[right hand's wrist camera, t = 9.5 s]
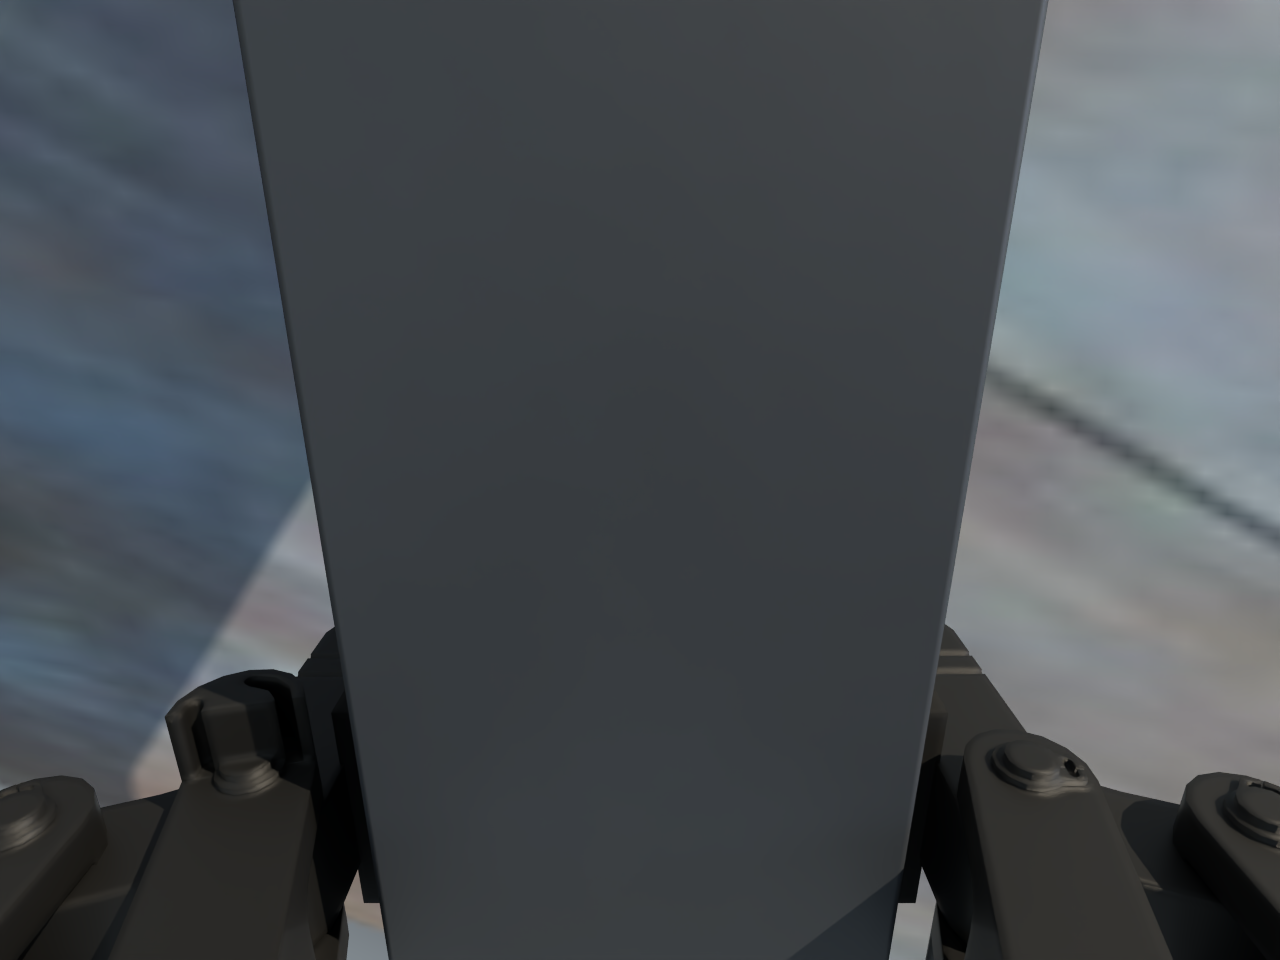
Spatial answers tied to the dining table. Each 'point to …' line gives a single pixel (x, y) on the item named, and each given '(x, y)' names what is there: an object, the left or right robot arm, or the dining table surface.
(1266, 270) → the dining table surface
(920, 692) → the beam
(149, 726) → the dining table surface
